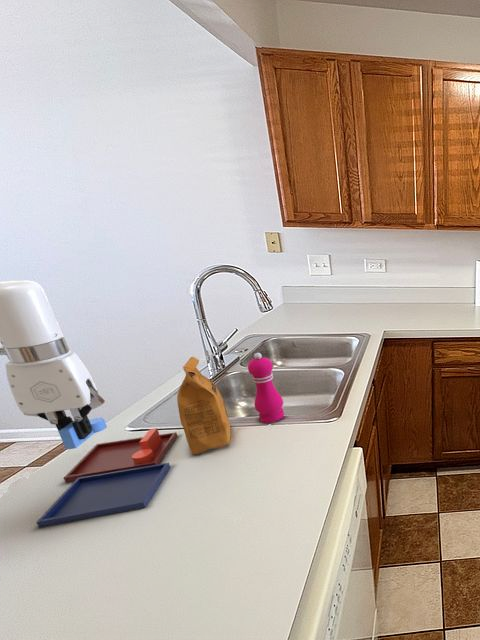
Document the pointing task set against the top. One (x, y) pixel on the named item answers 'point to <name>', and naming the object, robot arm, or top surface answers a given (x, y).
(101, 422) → the blue spoon
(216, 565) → the top surface
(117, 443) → the maroon tray
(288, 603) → the top surface
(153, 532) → the top surface
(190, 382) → the coffee package
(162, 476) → the navy tray
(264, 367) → the pepper mill
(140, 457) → the coral spoon
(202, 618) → the top surface
